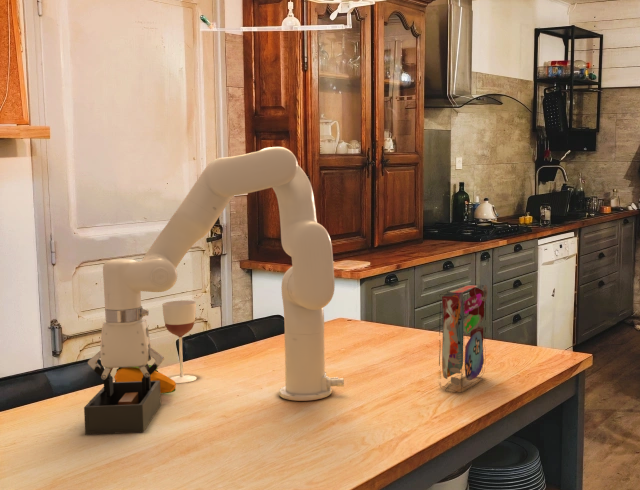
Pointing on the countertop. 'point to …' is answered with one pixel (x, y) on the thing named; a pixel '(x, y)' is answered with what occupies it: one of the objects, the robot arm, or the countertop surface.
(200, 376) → the countertop surface
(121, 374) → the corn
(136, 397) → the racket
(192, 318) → the wineglass
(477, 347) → the box
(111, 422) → the bin
